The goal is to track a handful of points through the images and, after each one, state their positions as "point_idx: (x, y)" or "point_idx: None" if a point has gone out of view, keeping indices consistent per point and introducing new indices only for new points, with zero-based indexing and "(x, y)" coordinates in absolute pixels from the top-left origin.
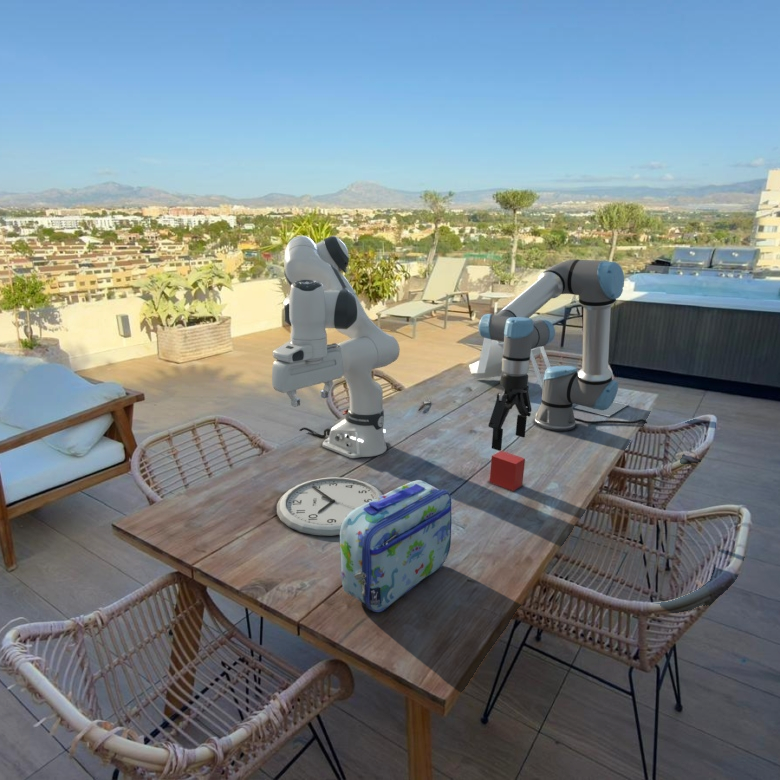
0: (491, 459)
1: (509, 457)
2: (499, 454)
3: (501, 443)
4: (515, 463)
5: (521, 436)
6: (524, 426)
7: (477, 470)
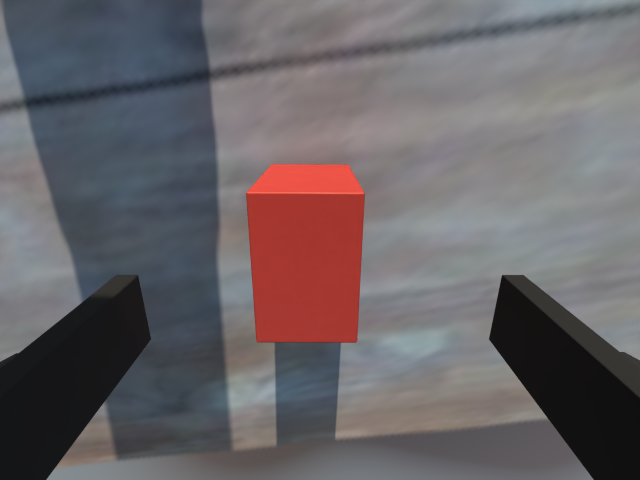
0: (250, 188)
1: (307, 280)
2: (301, 217)
3: (116, 378)
4: (261, 338)
5: (494, 325)
6: (548, 414)
7: (336, 47)
